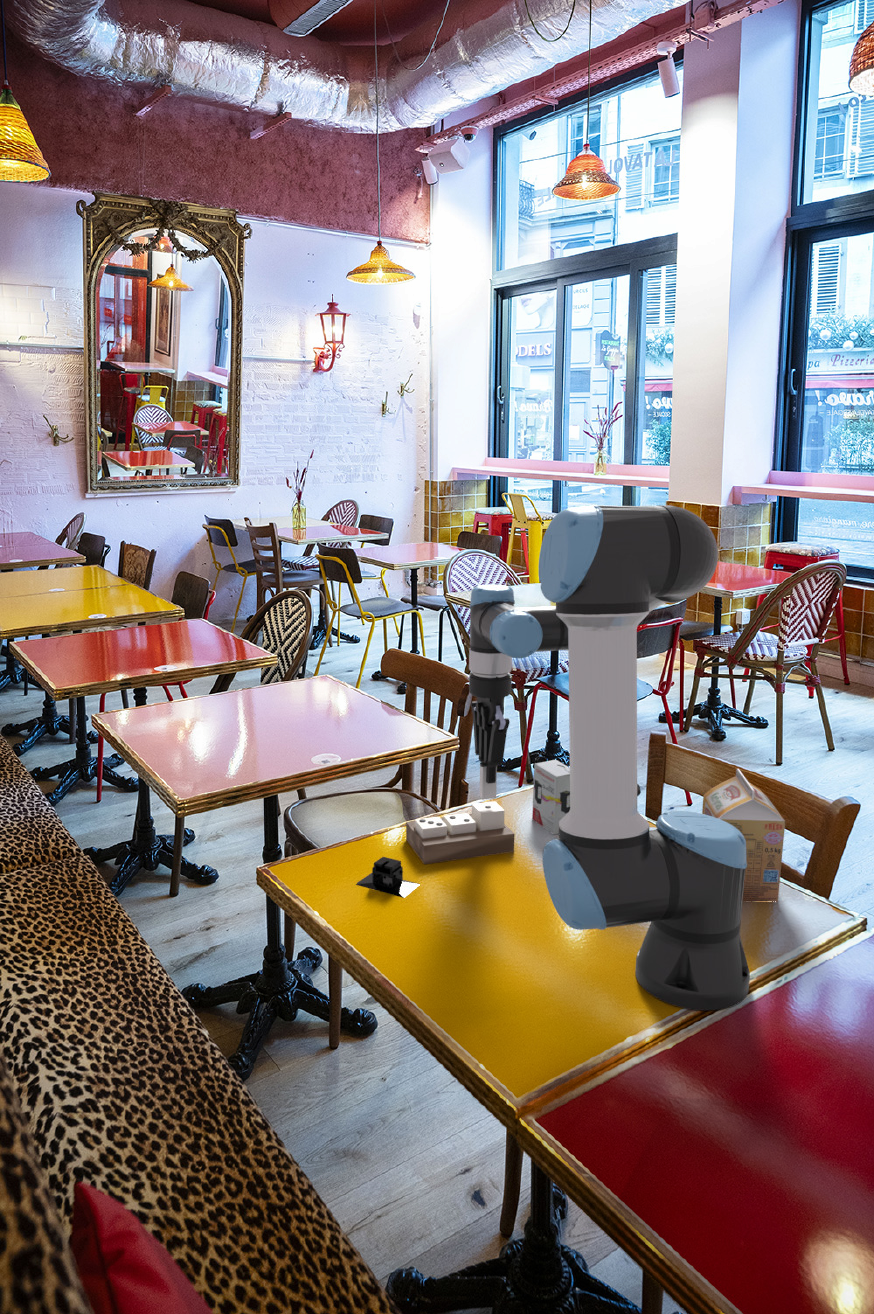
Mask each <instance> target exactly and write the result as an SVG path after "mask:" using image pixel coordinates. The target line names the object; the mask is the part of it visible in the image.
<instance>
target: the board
mask: <svg viewBox="0 0 874 1314" xmlns="http://www.w3.org/2000/svg"><path fill="white" fill-rule="evenodd" d="M468 814H469V815H470V816H471V818H472V813H468ZM440 818H441V819H442V821H443V822H444V816H443V817H440ZM405 830H406V831H405V833H406V834H405V836H406V837H405V839H406V841H407V843H408V844H409V845H410V847H411V848H412V850H413V851H414V852H415V854H416V855H417V856H418V858H419V859H420V860H421V862H422V863H423V864H424V865H429V864H435V863H441V862H451V861H455V860H456V861H457V860H463V859H471V858H478V857H484V856H493V855H500V854H507V853H513V852H515V832H513V830H512V829H511V828H509V826H508V825H507V824H506V823H504V828H500V829H493V830H485V831H479V830H478V829H477V828H476V832H470V833H462V834H454V835H450V833H449V832H448V831H447V836H439V837H431V838H424V839H421V838H420V836H419V835H418V834H417V832H416V831H415V820H410V821H406V822H405Z"/></svg>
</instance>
